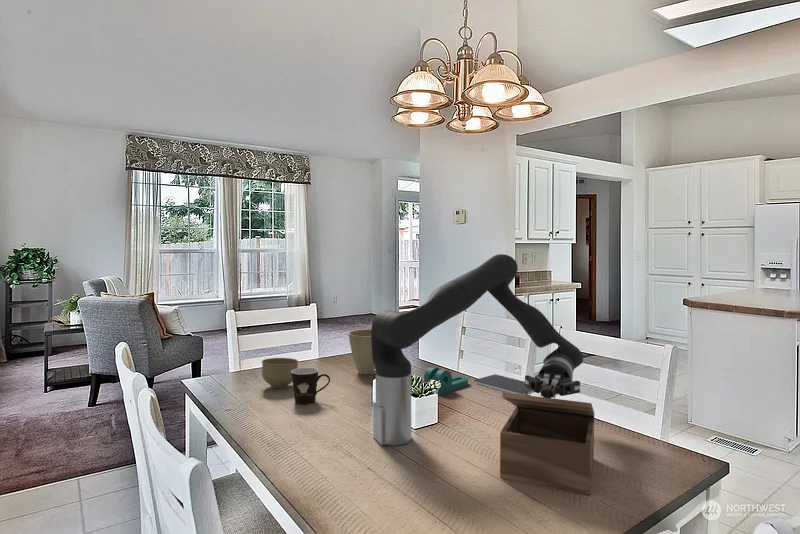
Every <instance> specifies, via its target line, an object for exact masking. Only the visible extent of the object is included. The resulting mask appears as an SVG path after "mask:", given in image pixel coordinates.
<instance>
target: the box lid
mask: <svg viewBox="0 0 800 534" xmlns="http://www.w3.org/2000/svg"><path fill="white" fill-rule="evenodd" d="M501 397H502V398H503V399H505V400H506V401H507V402H509V403H510V404H512V405H513V406H514V407H515V408H516V407H522V408H529V409H537V410H544V411H552V412H559V413H567V414H574V415H582V416H589V417H594V418H595V409H594V407H593V404H592V402H584V401H576V400H570V399H569V400H567V399H560V398H554V397H553V398H545V397H543V396H538V395H537V396H535V395H530V394H528V395H521V394H513V393H508V392H504V391H502V395H501Z"/></svg>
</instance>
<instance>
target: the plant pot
mask: <svg viewBox="0 0 800 534" xmlns="http://www.w3.org/2000/svg"><path fill="white" fill-rule="evenodd" d="M348 340H349V346H350V351H351V355H352V358H353V361H354V364H355V367H356V371H358V372H359V373H358V374H360V375H364V374H370V375H374V374H373V373H375V370H374V369H375V365H374V363H373V359H372V343H371V328H369V329H367V328H365V329H355V330H351V331H348ZM375 374H376V373H375Z"/></svg>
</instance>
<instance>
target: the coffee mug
mask: <svg viewBox="0 0 800 534" xmlns="http://www.w3.org/2000/svg"><path fill="white" fill-rule="evenodd" d="M291 374H292V382H291V383H292V389H293V396H294V403H295V405H296V404H297V405H301V406H302V405H303V406H306V405H310V404H311V405H312V404H314V403H315V402H316V397H317V394H318V393H319V392H321V391H323V390H324V389H325V388H326V387H327V386H329V384H330V382H331V377H330V376H329V375H328V374H326V373H321V374H319V369H318V368H316V367H297V369H294V370H292V371H291ZM321 377H326V378H327V379H328V382H327V383H326V384H325V385H324V386H323V387H320V388H319V389H318V382H319V380H320V379H321ZM317 389H318V390H317Z"/></svg>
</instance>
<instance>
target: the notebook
mask: <svg viewBox="0 0 800 534" xmlns="http://www.w3.org/2000/svg"><path fill="white" fill-rule="evenodd" d="M475 383H476V385H479V384H480V385H479V386H482V385H484V386H483V387H486V386H487V388H490V387H491V388H490V389H493V388H494V390H497V389H498V390H497V391H500V390H501V391H502V392H504V391H505V392H504V393H513V394H521V395H531V394H533V393H535V392H534V391H532V390H531V389H529V388H527V387H525V380H520V379H516V378H513V377H512V378H511V377H508V376H504V375H499V374H496V373H495V374H492V375H487V376H483V377H480V378H476V379H474V384H475Z"/></svg>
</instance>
